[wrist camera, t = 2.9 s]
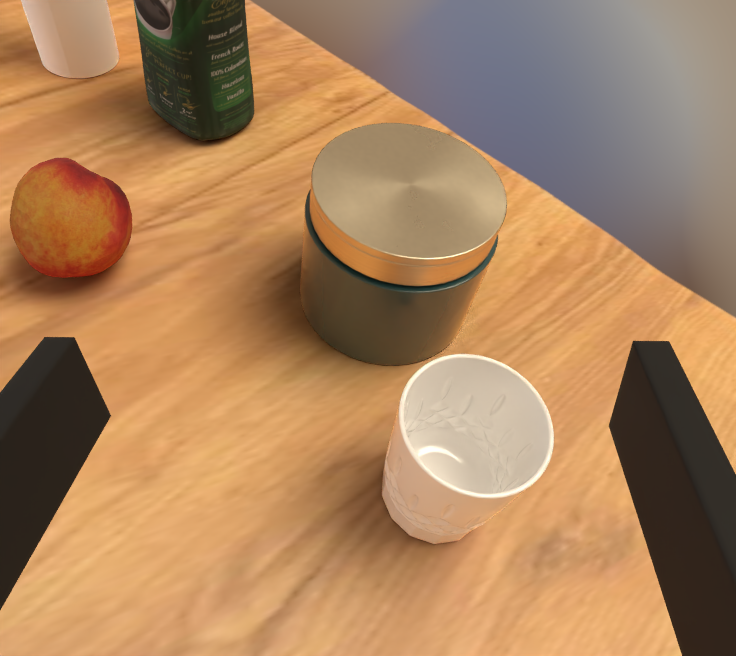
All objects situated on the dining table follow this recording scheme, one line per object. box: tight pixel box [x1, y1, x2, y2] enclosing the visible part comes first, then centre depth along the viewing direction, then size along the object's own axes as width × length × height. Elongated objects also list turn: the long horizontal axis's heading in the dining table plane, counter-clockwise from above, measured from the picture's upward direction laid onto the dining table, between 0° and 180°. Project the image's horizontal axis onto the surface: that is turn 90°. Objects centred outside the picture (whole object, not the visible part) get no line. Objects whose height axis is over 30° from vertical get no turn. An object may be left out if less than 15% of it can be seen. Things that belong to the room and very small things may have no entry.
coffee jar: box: [134, 0, 254, 140], centre depth 49 cm, size 10×8×19 cm
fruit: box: [10, 158, 132, 278], centre depth 41 cm, size 8×8×8 cm
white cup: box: [382, 354, 554, 544], centre depth 33 cm, size 8×8×10 cm
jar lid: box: [310, 123, 507, 286], centre depth 38 cm, size 12×12×2 cm
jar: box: [300, 189, 498, 365], centre depth 42 cm, size 13×13×10 cm
